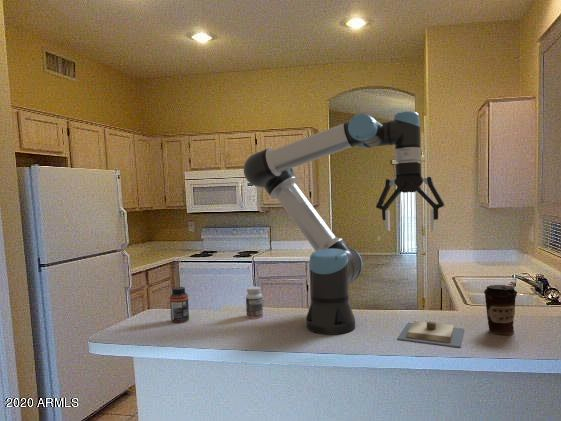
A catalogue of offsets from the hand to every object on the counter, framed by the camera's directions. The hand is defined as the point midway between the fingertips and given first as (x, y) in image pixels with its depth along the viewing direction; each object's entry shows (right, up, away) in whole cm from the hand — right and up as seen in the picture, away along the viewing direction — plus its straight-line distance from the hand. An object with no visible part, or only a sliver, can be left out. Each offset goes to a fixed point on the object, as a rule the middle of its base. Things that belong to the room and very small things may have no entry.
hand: (409, 230), depth 125 cm
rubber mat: (+2, -29, -12) cm, 31 cm away
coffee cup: (+22, -28, -12) cm, 38 cm away
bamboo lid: (+2, -29, -12) cm, 31 cm away
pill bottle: (-49, -30, +12) cm, 59 cm away
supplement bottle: (-74, -31, +10) cm, 81 cm away
